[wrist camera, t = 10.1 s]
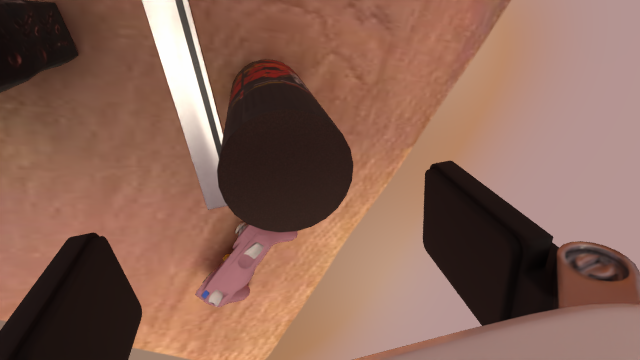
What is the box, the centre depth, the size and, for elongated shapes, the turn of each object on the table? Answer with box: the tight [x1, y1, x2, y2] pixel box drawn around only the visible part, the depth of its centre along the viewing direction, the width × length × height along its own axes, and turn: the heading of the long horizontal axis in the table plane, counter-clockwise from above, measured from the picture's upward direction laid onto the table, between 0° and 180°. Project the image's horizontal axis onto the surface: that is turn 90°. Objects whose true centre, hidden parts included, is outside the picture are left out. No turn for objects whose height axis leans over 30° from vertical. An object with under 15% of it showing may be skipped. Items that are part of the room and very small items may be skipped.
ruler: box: [142, 0, 228, 210], centre depth 27 cm, size 22×3×1 cm, turn 7°
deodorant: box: [217, 60, 353, 233], centre depth 22 cm, size 6×6×15 cm
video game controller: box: [195, 222, 298, 307], centre depth 32 cm, size 10×5×7 cm, turn 142°
